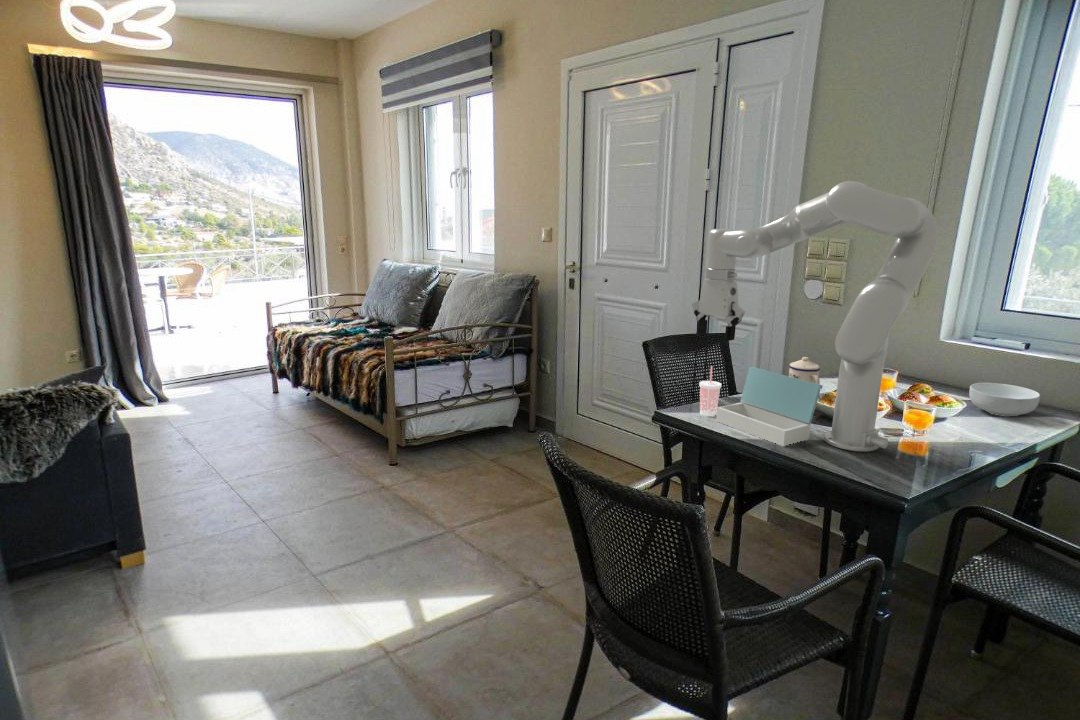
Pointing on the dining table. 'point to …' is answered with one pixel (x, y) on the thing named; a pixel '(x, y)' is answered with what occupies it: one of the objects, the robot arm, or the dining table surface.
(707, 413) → the beverage cup
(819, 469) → the dining table surface
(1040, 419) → the dining table surface
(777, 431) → the hinged pencil box
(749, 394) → the cover
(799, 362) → the teacup with lid
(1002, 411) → the cereal bowl
